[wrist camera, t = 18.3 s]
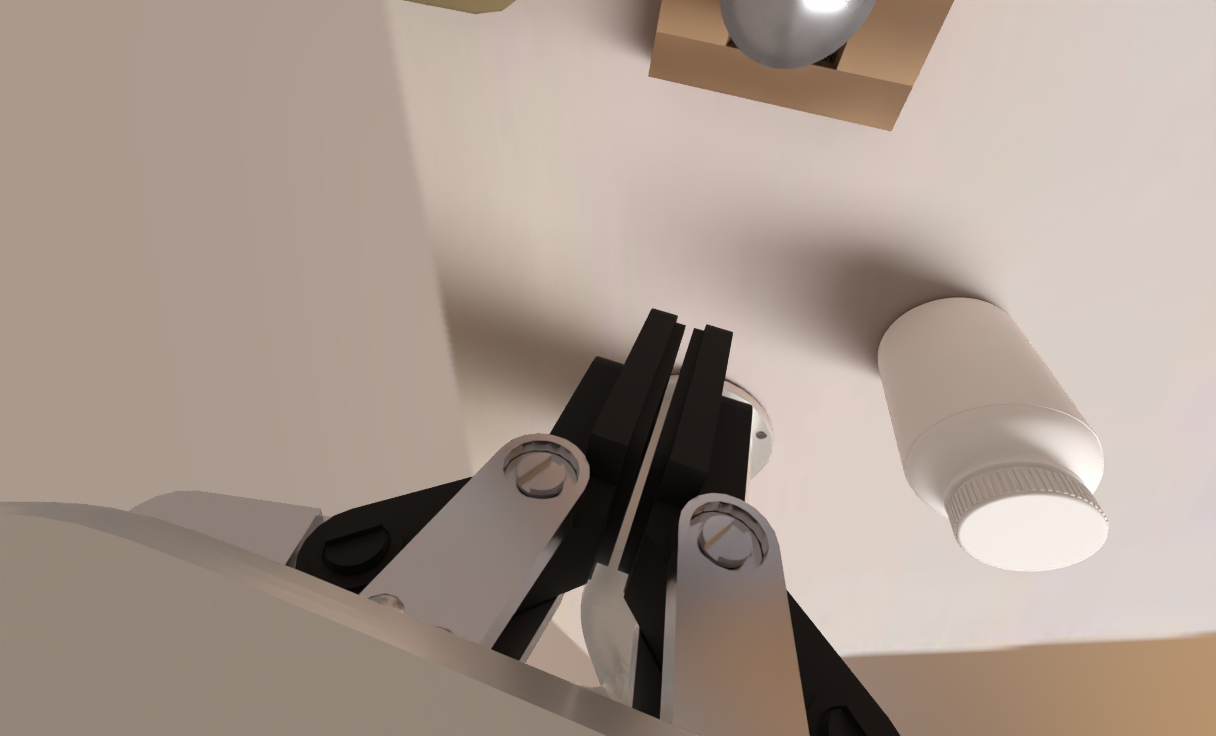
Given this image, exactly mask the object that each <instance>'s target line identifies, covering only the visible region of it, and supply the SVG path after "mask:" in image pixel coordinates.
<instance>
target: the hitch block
mask: <svg viewBox="0 0 1216 736" xmlns="http://www.w3.org/2000/svg"><path fill="white" fill-rule="evenodd" d="M953 2H954V0H876V3H875V5H874V6H873V8H872V10H871V12H870V14H869V15H868V17H867V18H866V20H865V21H864V22H863V24H862V25H861V27H860V28H859V29H858V30H857V31H856V33H855V34H854V35H853V36H852V37H851V38H850V39H849V40H848V41H847V42H846V43H845V44H844V45H843V46H841V47H840V48H839V49H837V50H836V51H835V53H834V55H833V58H832V61H828V60H824V59H822V60H820V61H818V62H815V63H813V64H810V65H807V66H804V67H800V68H794V69H777V68H771V67H767V66H763V65H761V64H759V63H757V62H755V61H753V60H752V59H750V58H749V57H747V56H746V55H745V54H744V53H743V52H742V51H741V50H740V49H739V48H738V47H737V46H736V45H735V43H734V42H733V40H732V39H731V37H730V35H729V34H728V31H727V29H726V26H725V24H724V21H723V17H722V14H721V8H720V1H719V0H662V2H661V7H660V13H659V19H658V24H657V30H656V36H655V41H654V47H653V53H652V58H651V64H650V70H649V75H648V76H649V77H654V78H658V79H663V80H667V81H671V82H676V83H680V84H685V85H689V86H694V87H698V88H702V89H707V90H711V91H716V92H720V93H724V94H729V95H733V96H738V97H742V98H746V99H751V100H755V101H760V102H764V103H768V104H773V105H777V106H782V107H786V108H791V109H795V110H799V111H804V112H808V113H813V114H817V115H821V116H826V117H830V118H835V119H839V120H843V121H848V122H852V123H857V124H861V125H866V126H870V127H874V128H879V129H883V130H888V131H892V129H893V127H894V125H895V122H896V120H897V118H898V116H899V114H900V112H901V110H902V108H903V106H904V104H905V102H906V100H907V97H908V95H909V93H910V91H911V89H912V87H913V85H914V83H915V81H916V79H917V77H918V75H919V72H920V70H921V68H922V66H923V64H924V62H925V60H926V58H927V56H928V54H929V52H930V50H931V47H932V45H933V43H934V41H935V39H936V37H937V35H938V33H939V31H940V29H941V27H942V25H943V22H944V20H945V18H946V16H947V14H948V12H949V10H950V8H951V6H952V4H953Z"/></svg>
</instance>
